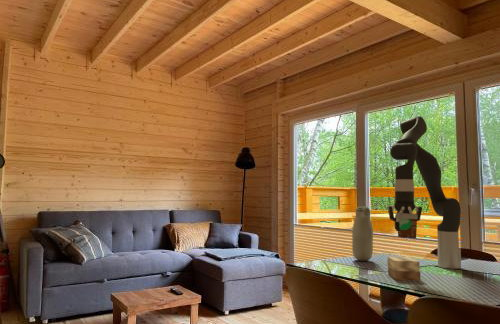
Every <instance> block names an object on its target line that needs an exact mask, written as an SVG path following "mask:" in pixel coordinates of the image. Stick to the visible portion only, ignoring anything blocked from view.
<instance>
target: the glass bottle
mask: <svg viewBox="0 0 500 324" xmlns="http://www.w3.org/2000/svg"><path fill="white" fill-rule="evenodd" d="M351 232H352V233H351V235H352V236H351V240H352V242H351V244H352V245H351V246H352V251H351V252H352V256H353V257H354V258H355V260H356V261H359V262H366V261H367V262H368V261H370V260H371V259H372V258H373V250H374V246H373V245H374V242H373V241H374V229H373V224H372V220H371V210H370V208H369V207H368V206H363V205H361V206H358V207H356V209H355V217H354V222H353V226H352V230H351Z"/></svg>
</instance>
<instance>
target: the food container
mask: <svg viewBox="0 0 500 324" xmlns="http://www.w3.org/2000/svg"><path fill="white" fill-rule="evenodd" d="M398 214H399V213H397V212H395V215H394V218H399V231H397V237H398V238H403V239H417V232H418V231H417V227H418V221H417V219H418V216H417V214H416V213H413V214H407V213H400V215H399V216H398ZM397 216H398V217H397Z"/></svg>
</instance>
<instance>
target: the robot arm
mask: <svg viewBox="0 0 500 324" xmlns="http://www.w3.org/2000/svg"><path fill="white" fill-rule="evenodd" d="M399 127H400V131H401V134H402V136H401V137H400V139H399V140H397V141H395V142H394V143H393V144H392V146H391V147H390V151H389V152H390V157H391V158H392V159H393V160H395V161H403V160H404V161H407V162H406V163H404V164H400V165H397V166H396V167H395V168H394V169H395V170H394V171H395V177H394V181H395V182H394V202H395V203H394V204H393V205H388V206H387V211H388V215H389V220H391V221H393V222H394V230H395V231H396V232H398V231H399V218H395V215H394V210H395V211H396V213H399V214H398V216H399V215H400V213H407V214H414V212H413V211H414V210H415V214H417V216H418V219H417V222H419V221H420V220H421V216H422V211H423V207H422V206H417V205H415V183H414V166H415V163H416V166H417V169H418V171H419V173H420V176H421V178H422V180H423V182H424V184H425V188H426V190H427V193H428V195H429V198H430V202H431V205H432V209H433V211H434V213H436V215H438V216H440V217H442V221H441V222H440V223H439V224H437V226H436V229H437V231H436V233H437V234H436V235H437V236H436V237H437V241H436V242H437V267H439V268H441V269H442V268H444V269H450V270H452V269H454V270H455V269H456V270H457V269H462V254H461V253H462V248H461V247H460V239H459V236H460V235H459V228H460V226H461V217H462V216H461V214H462V213H461V210H462V209H461V204H460V202H459V200H458V199H456V198H453V197H446V195H445V193H444V191H443V189H442V169H441V166H440V163H439V162H438V159H437V158H436V157H435V156H434V155H433V154H431V152H429V151H428V150H426V149H424V148H423V147H422V146H421V145H420V144H419V143H418V142H419V140H420V139H421V138H422V137H423V136H424V135H425V134H426V133H427V131H428V126H427V122H426V120H425V119H424V117H422V116H420V115H418V116H414V117H410V118H408V119H407V120H406V119H405V120H404V121H402V122H400V124H399ZM398 216H397V217H398Z"/></svg>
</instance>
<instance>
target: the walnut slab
mask: <svg viewBox="0 0 500 324" xmlns="http://www.w3.org/2000/svg"><path fill="white" fill-rule="evenodd" d="M387 275H388V276H389V277H390V278H391V279H393V280H394V279H395V280H394V281H409V280H418V281H419V282H420V281H421V280H422V279H421V271H420V272H415V271H394V270H392V269H391V268H389V267H388V266H387ZM418 281H417V282H418Z"/></svg>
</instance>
